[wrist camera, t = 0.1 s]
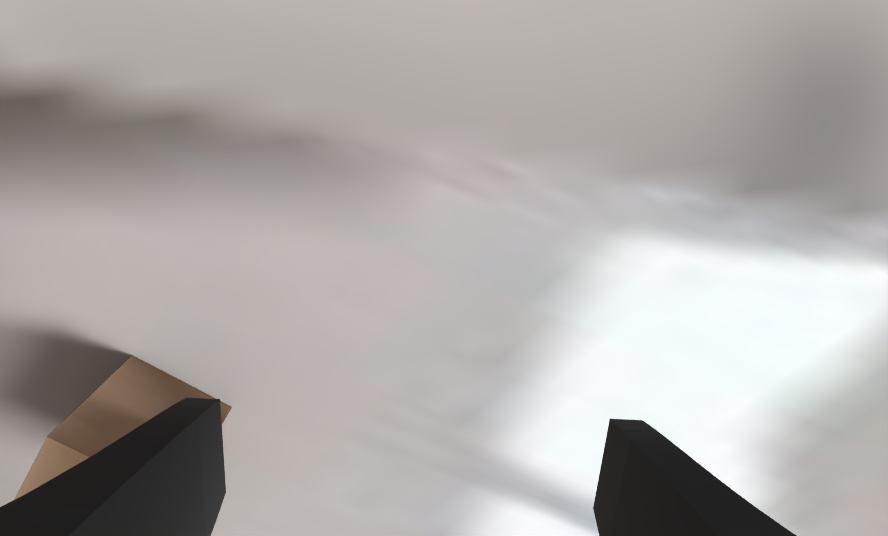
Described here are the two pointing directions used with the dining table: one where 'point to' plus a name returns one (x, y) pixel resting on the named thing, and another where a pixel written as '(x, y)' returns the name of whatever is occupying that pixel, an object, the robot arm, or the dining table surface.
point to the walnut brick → (109, 418)
